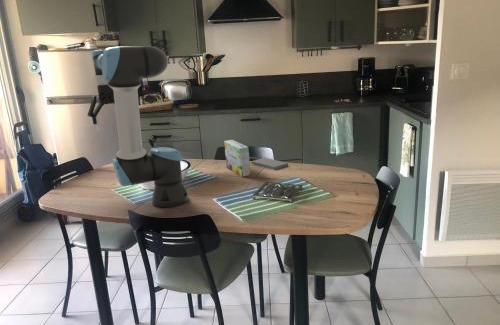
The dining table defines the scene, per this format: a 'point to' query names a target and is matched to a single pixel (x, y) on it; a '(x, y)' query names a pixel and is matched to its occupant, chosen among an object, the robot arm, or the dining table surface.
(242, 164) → the snack box
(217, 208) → the dining table surface
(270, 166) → the slate board
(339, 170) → the dining table surface
